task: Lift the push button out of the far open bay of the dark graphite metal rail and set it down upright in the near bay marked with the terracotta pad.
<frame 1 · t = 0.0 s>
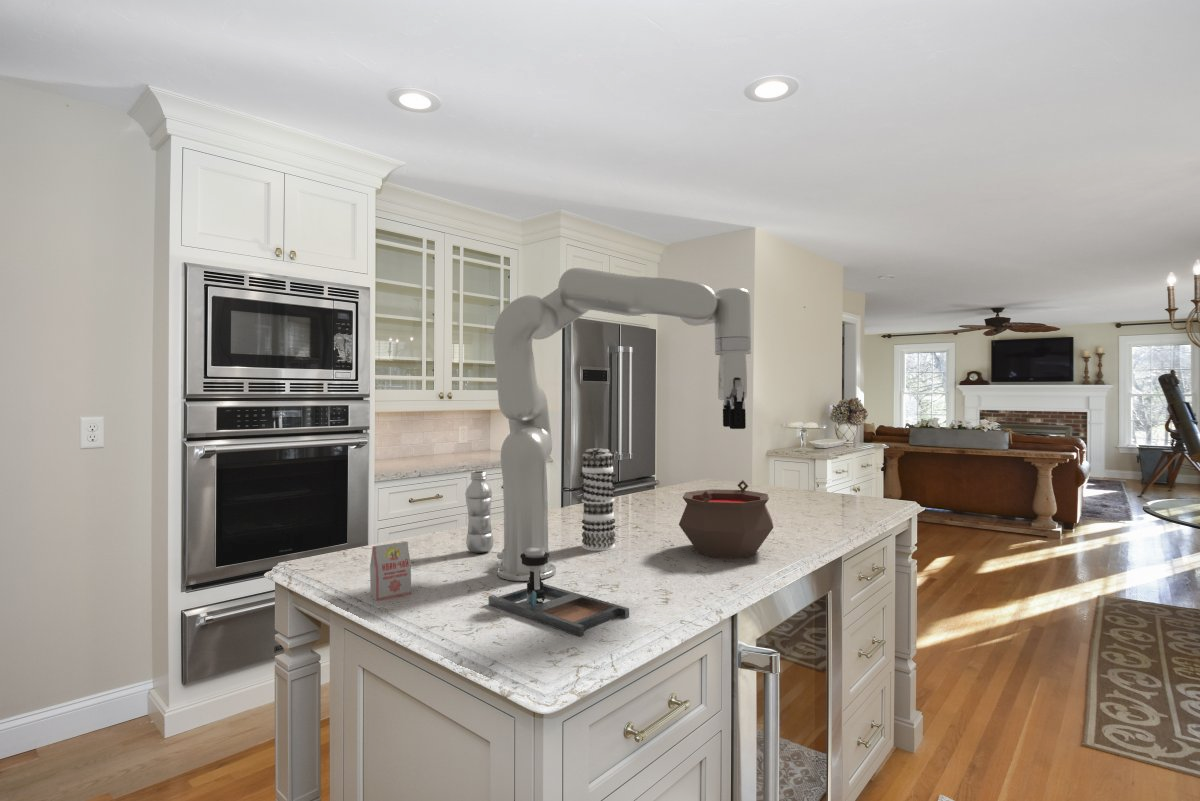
hand: (733, 427, 135), 31 cm above the counter, tool pointing down, fingers open, 9 cm apart
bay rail: (556, 610, 113), on the counter
brown cauldron: (726, 552, 155), on the counter
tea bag: (391, 595, 124), on the counter
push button: (536, 605, 117), on the counter
plastic bottle: (480, 552, 158), on the counter
decorative candle: (598, 547, 161), on the counter
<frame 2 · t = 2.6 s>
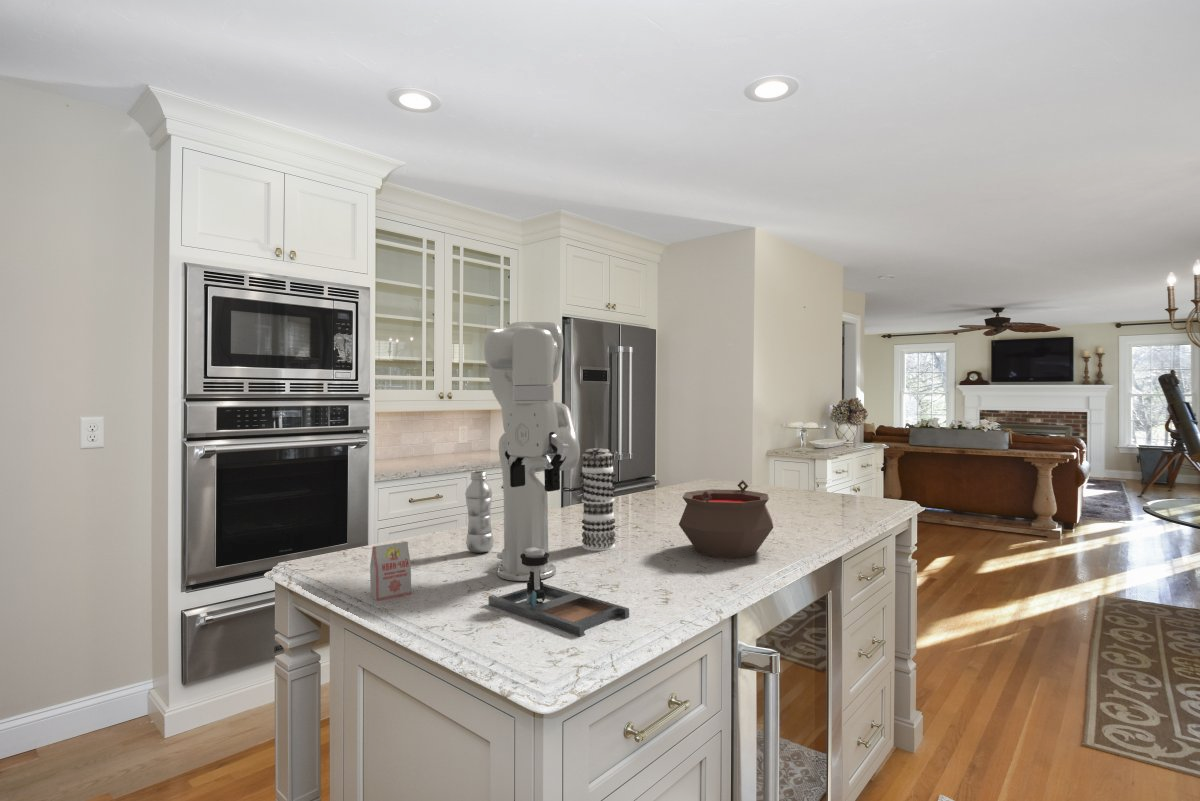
hand: (534, 488, 117), 21 cm above the counter, tool pointing down, fingers open, 9 cm apart
nothing on the counter moved.
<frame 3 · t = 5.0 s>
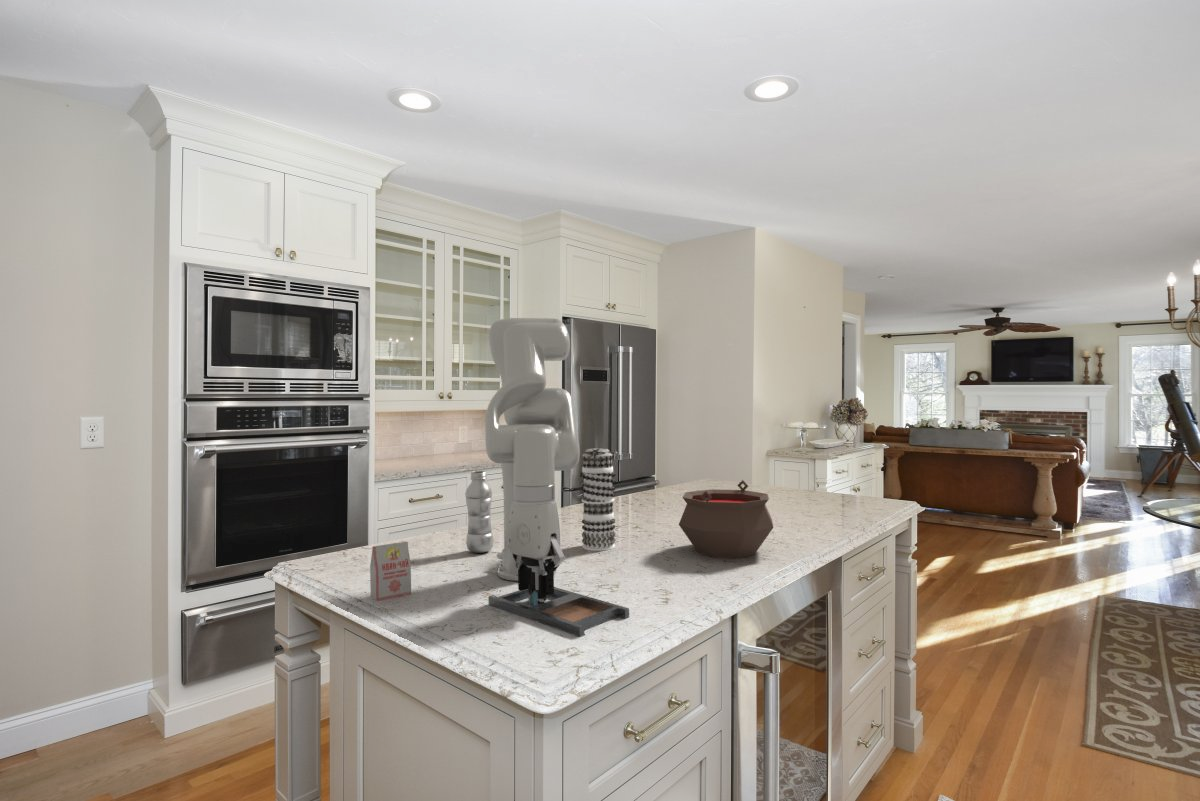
hand: (536, 591, 117), 2 cm above the counter, tool pointing down, fingers closed on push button, 5 cm apart
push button: (537, 605, 117), on the counter, touching gripper
everything else where it was.
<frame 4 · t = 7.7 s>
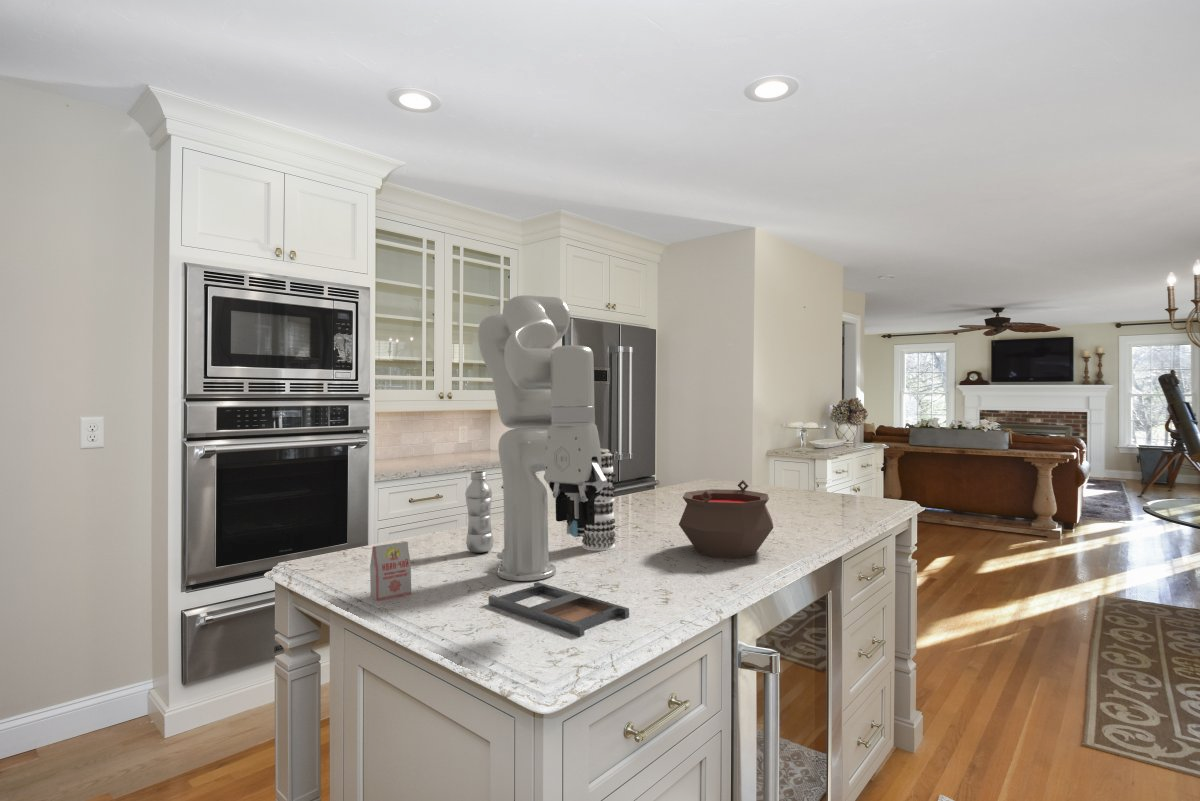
hand: (575, 521, 109), 17 cm above the counter, tool pointing down, fingers closed on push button, 5 cm apart
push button: (576, 536, 109), point 14 cm above the counter, touching gripper
everything else where it was.
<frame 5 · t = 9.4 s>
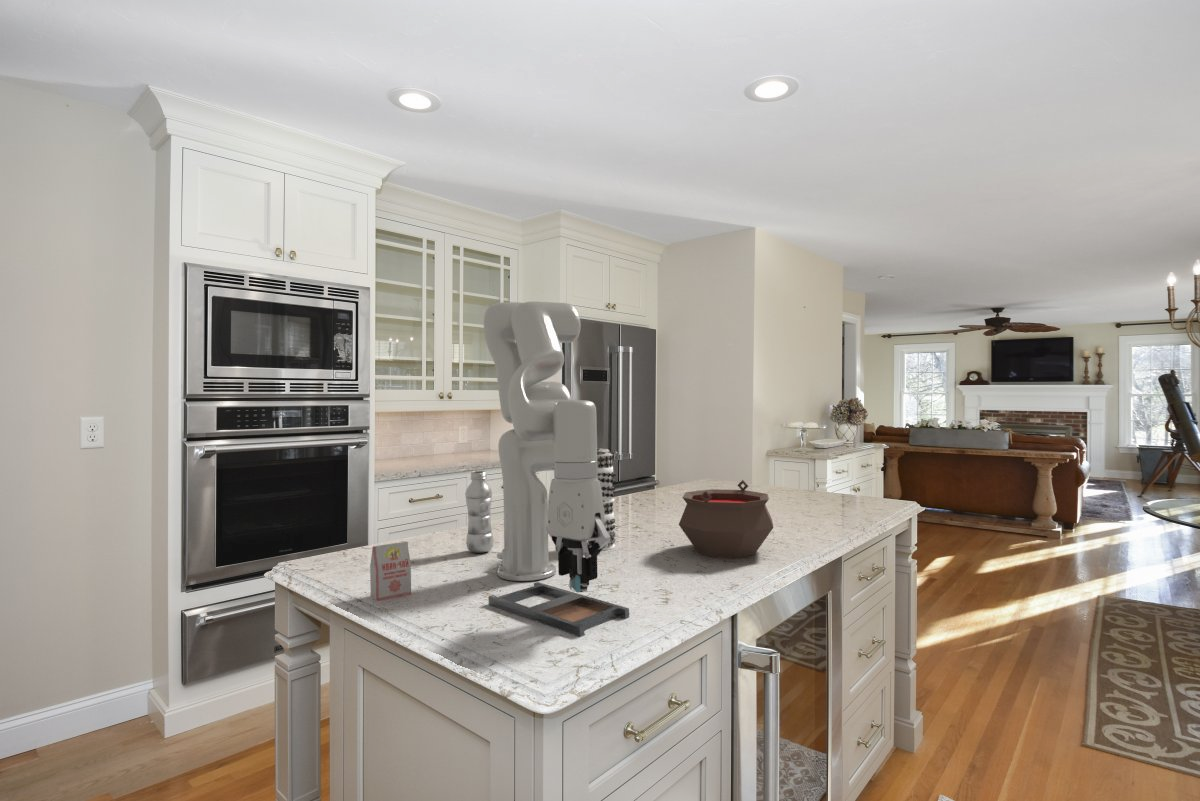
hand: (577, 575, 109), 7 cm above the counter, tool pointing down, fingers closed on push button, 5 cm apart
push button: (579, 591, 109), point 5 cm above the counter, touching gripper
everything else where it was.
when the fingers open (4 cm above the counter, at t = 10.5 s): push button stays where it is, resting on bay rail.
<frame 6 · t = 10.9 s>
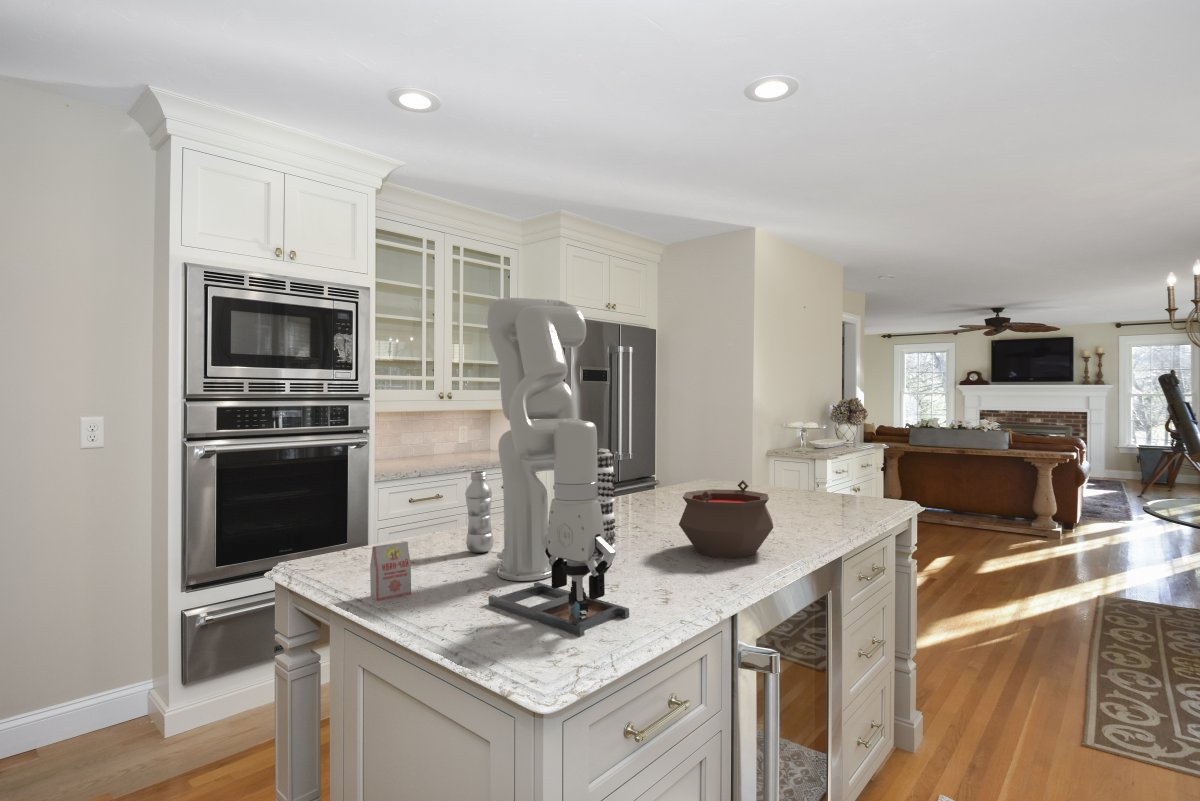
hand: (577, 591, 109), 4 cm above the counter, tool pointing down, fingers open, 8 cm apart
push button: (578, 617, 109), resting on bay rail
everything else where it was.
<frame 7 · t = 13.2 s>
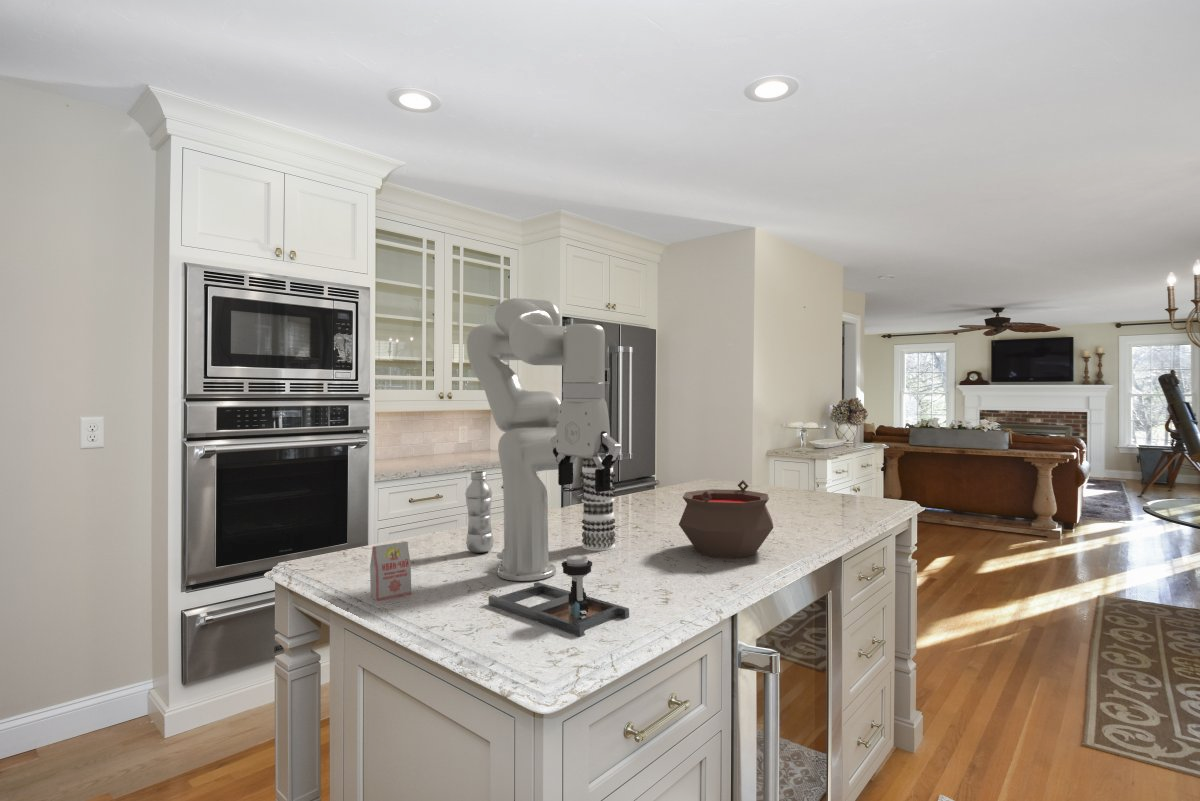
hand: (583, 487, 114), 22 cm above the counter, tool pointing down, fingers open, 9 cm apart
nothing on the counter moved.
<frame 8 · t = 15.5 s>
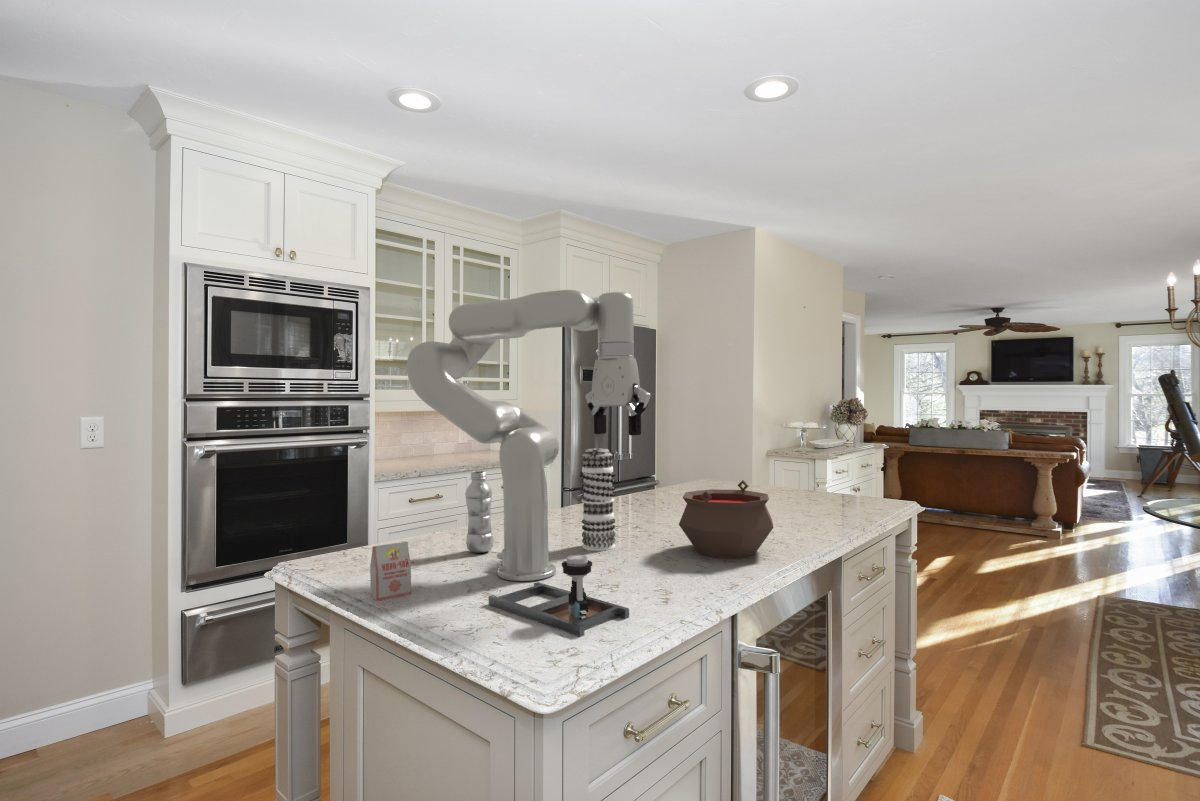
hand: (617, 434, 132), 30 cm above the counter, tool pointing down, fingers open, 9 cm apart
nothing on the counter moved.
at the end: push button 0.2 cm from the target spot, on the counter; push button tilted 0°; the gripper is holding nothing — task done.
